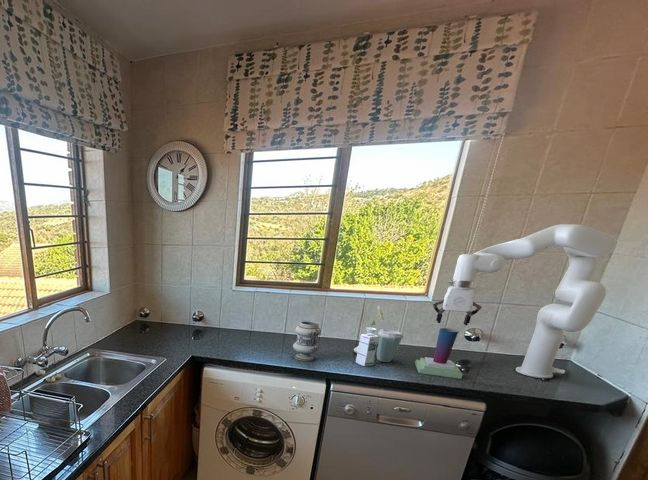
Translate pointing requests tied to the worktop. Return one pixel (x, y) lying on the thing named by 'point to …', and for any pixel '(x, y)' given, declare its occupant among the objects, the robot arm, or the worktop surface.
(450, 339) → the cup
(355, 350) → the flower in vase
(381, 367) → the worktop surface
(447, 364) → the scale pan
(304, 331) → the apothecary jar
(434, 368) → the scale
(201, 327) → the worktop surface
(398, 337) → the disposable coffee cup
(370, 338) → the syrup box
